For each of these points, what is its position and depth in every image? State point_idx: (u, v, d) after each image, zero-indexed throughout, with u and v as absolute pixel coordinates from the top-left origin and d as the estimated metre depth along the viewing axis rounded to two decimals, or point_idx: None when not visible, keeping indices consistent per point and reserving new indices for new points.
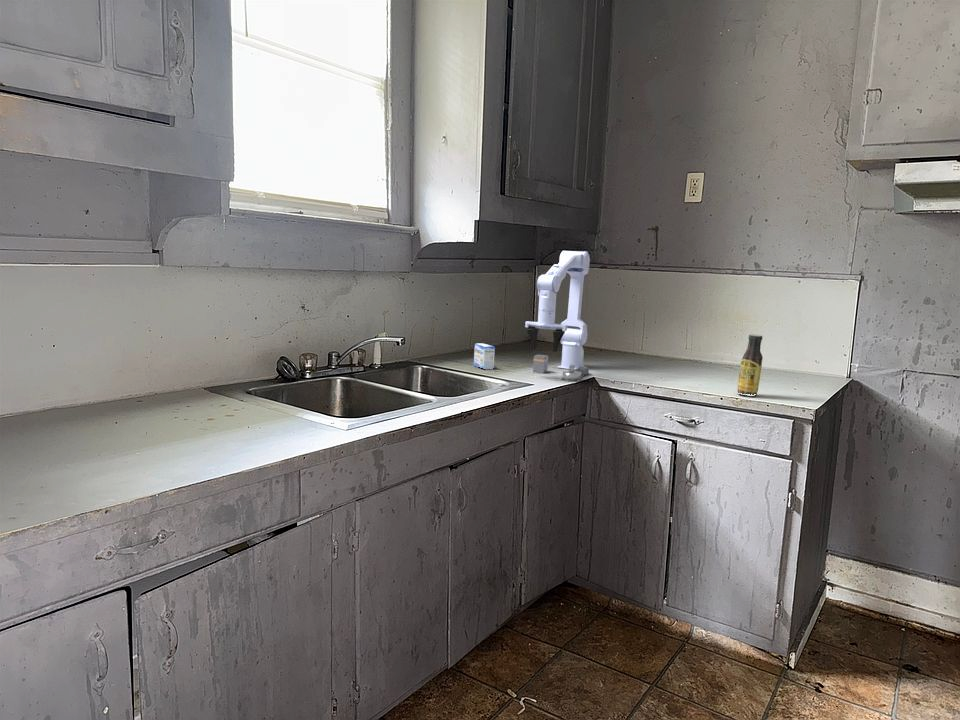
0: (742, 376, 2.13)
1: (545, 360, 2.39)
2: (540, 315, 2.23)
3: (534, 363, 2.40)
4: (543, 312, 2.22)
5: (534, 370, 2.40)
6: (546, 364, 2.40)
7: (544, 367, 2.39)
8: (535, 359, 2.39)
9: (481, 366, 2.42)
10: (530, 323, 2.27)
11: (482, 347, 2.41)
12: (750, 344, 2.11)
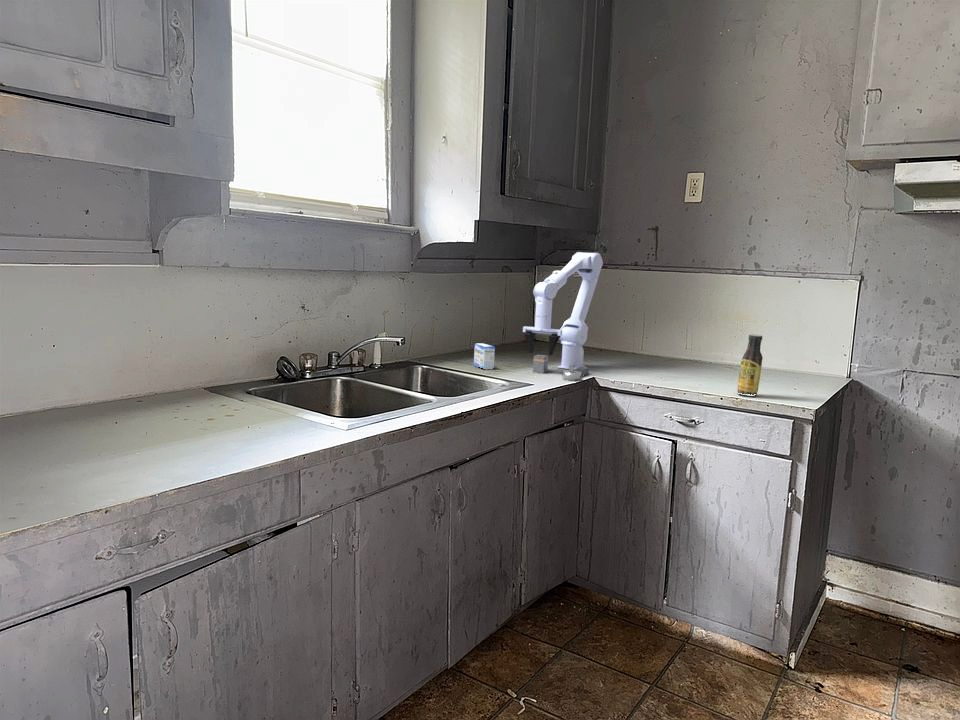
0: (742, 376, 2.13)
1: (545, 360, 2.39)
2: (537, 320, 2.36)
3: (534, 363, 2.40)
4: (540, 318, 2.35)
5: (534, 370, 2.40)
6: (546, 364, 2.40)
7: (544, 367, 2.39)
8: (535, 359, 2.39)
9: (481, 366, 2.42)
10: (527, 328, 2.40)
11: (482, 347, 2.41)
12: (750, 344, 2.11)
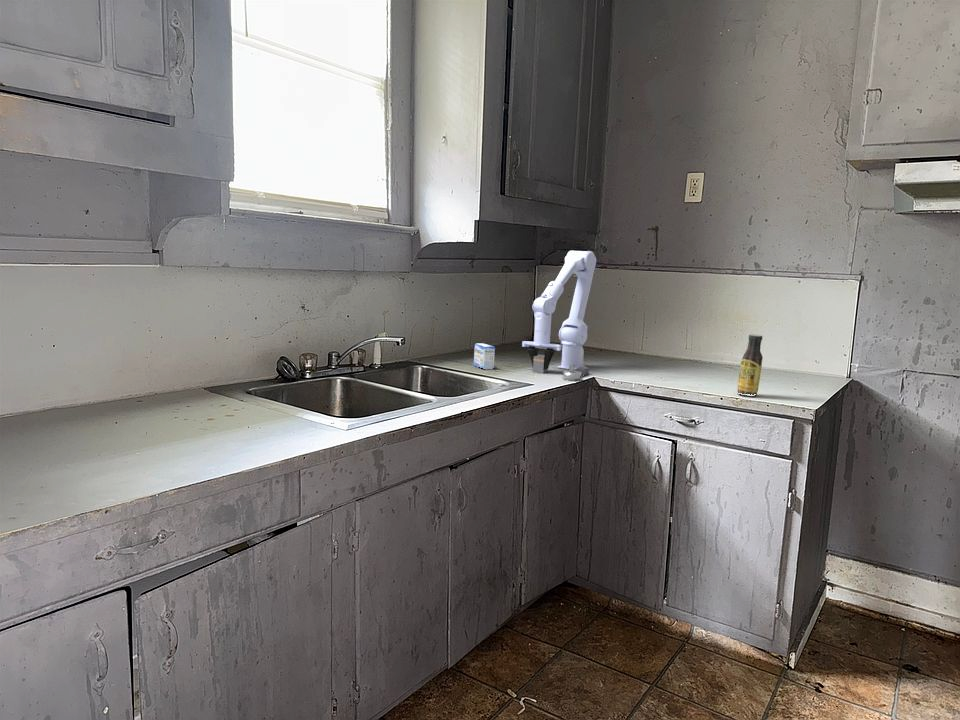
0: (742, 376, 2.13)
1: None
2: (536, 335, 2.37)
3: (534, 363, 2.40)
4: (539, 333, 2.36)
5: (534, 370, 2.40)
6: None
7: None
8: (535, 359, 2.39)
9: (481, 366, 2.42)
10: (527, 343, 2.41)
11: (482, 347, 2.41)
12: (750, 344, 2.11)
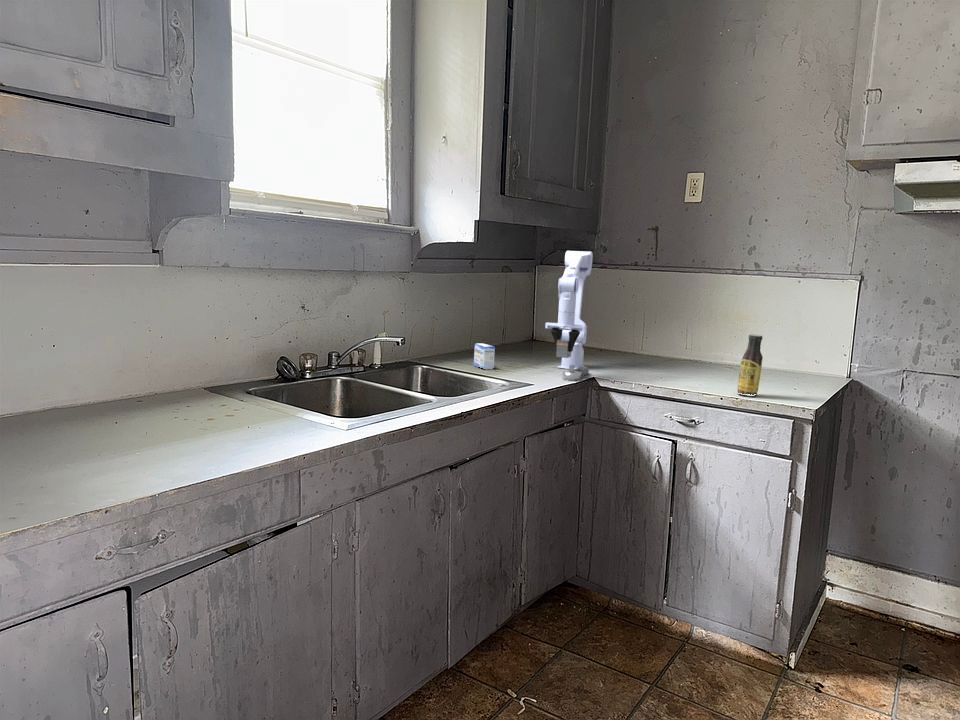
0: (742, 376, 2.13)
1: None
2: (560, 316, 2.27)
3: (557, 347, 2.29)
4: (563, 313, 2.26)
5: (557, 354, 2.30)
6: None
7: (568, 351, 2.29)
8: (558, 343, 2.29)
9: (481, 366, 2.42)
10: (550, 324, 2.31)
11: (482, 347, 2.41)
12: (750, 344, 2.11)
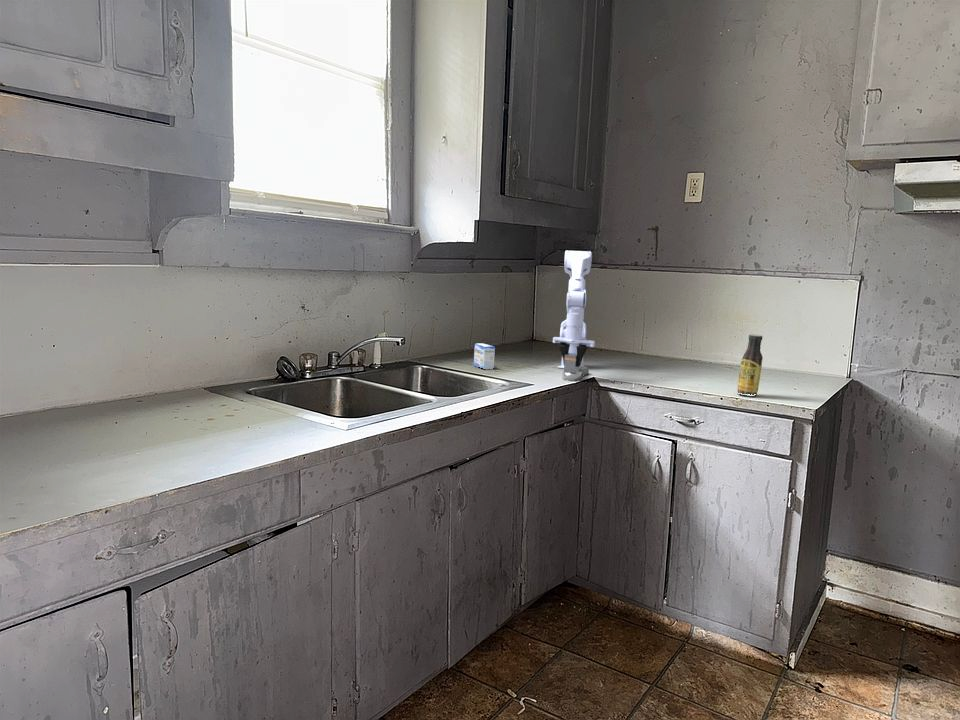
0: (742, 376, 2.13)
1: None
2: (568, 331, 2.25)
3: (565, 362, 2.27)
4: (571, 328, 2.24)
5: (565, 369, 2.28)
6: None
7: (576, 366, 2.27)
8: (566, 358, 2.27)
9: (481, 366, 2.42)
10: (557, 339, 2.29)
11: (482, 347, 2.41)
12: (750, 344, 2.11)
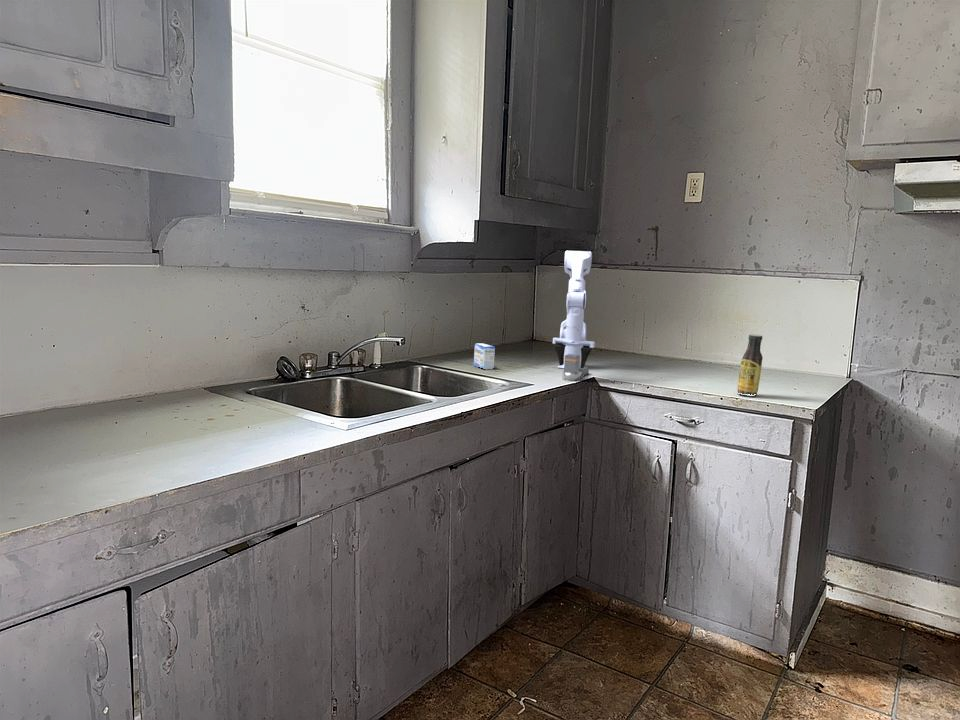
0: (742, 376, 2.13)
1: (577, 360, 2.27)
2: (568, 332, 2.25)
3: (565, 363, 2.27)
4: (571, 329, 2.24)
5: (565, 370, 2.28)
6: (578, 364, 2.28)
7: (576, 367, 2.27)
8: (566, 359, 2.27)
9: (481, 366, 2.42)
10: (557, 339, 2.29)
11: (482, 347, 2.41)
12: (750, 344, 2.11)
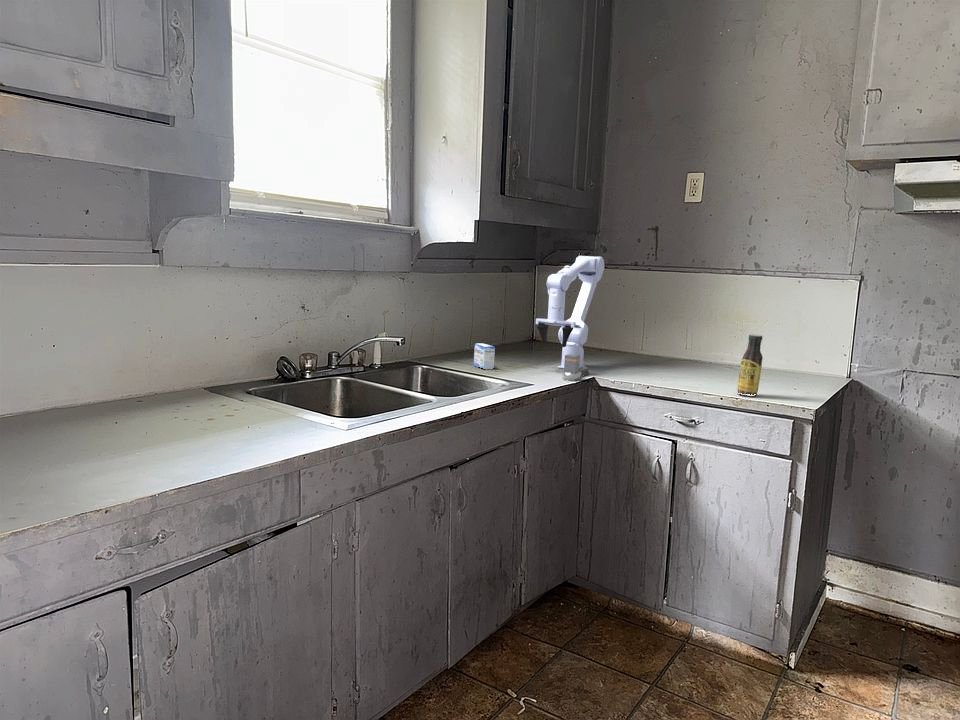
0: (742, 376, 2.13)
1: (577, 360, 2.27)
2: (550, 312, 2.36)
3: (565, 363, 2.27)
4: (553, 309, 2.35)
5: (565, 370, 2.28)
6: (578, 364, 2.28)
7: (576, 367, 2.27)
8: (566, 359, 2.27)
9: (481, 366, 2.42)
10: (540, 320, 2.39)
11: (482, 347, 2.41)
12: (750, 344, 2.11)
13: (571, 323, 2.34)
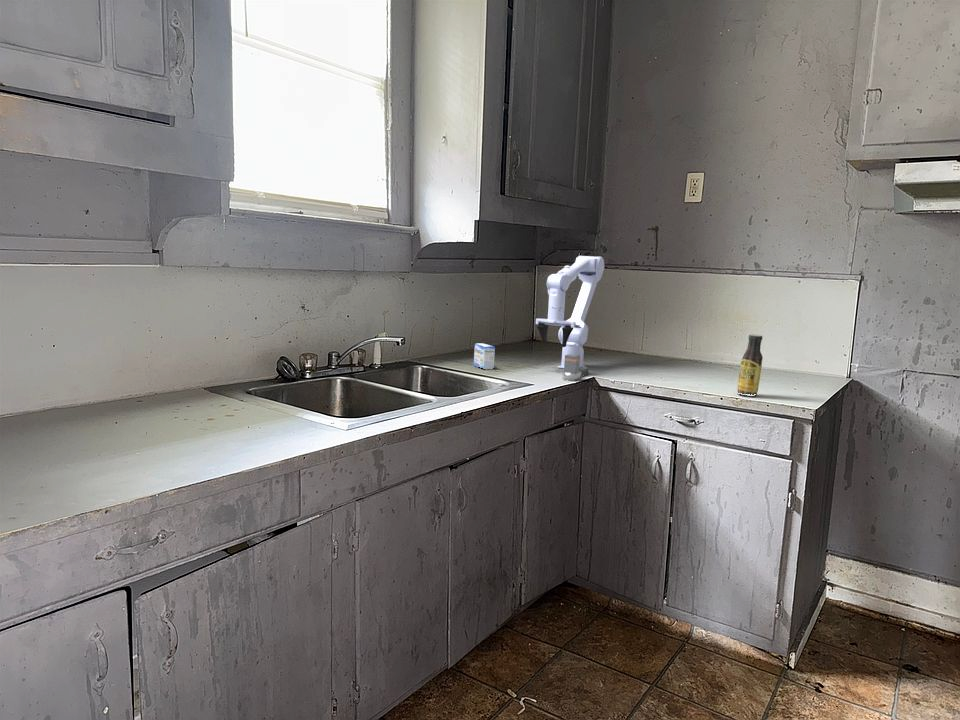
0: (742, 376, 2.13)
1: (577, 360, 2.27)
2: (550, 312, 2.36)
3: (565, 363, 2.27)
4: (553, 309, 2.35)
5: (565, 370, 2.28)
6: (578, 364, 2.28)
7: (576, 367, 2.27)
8: (566, 359, 2.27)
9: (481, 366, 2.42)
10: (540, 320, 2.39)
11: (482, 347, 2.41)
12: (750, 344, 2.11)
13: (571, 323, 2.34)
